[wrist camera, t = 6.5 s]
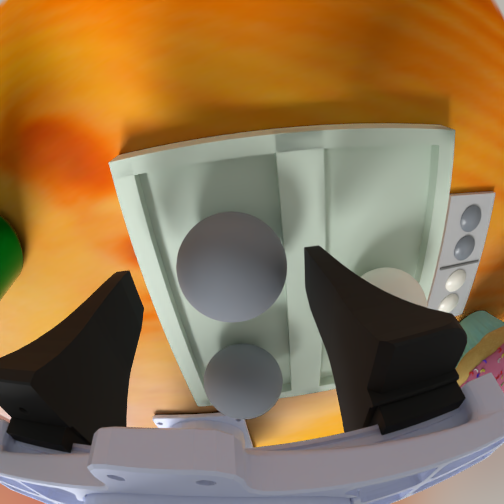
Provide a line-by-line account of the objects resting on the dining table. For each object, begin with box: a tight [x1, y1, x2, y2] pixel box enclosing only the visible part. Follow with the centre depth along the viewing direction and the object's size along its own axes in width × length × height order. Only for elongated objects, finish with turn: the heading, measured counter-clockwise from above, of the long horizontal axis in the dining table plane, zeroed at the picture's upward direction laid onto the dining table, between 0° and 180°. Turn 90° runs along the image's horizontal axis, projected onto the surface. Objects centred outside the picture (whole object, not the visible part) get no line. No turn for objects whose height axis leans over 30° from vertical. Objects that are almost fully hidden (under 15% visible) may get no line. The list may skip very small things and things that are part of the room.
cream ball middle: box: [361, 267, 427, 307], centre depth 15 cm, size 5×5×5 cm
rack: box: [109, 123, 455, 406], centre depth 17 cm, size 18×16×1 cm
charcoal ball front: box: [176, 212, 287, 323], centre depth 13 cm, size 5×5×5 cm
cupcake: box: [455, 311, 504, 393], centre depth 17 cm, size 9×8×12 cm
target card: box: [427, 191, 495, 316], centre depth 18 cm, size 10×4×1 cm, turn 7°
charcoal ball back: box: [204, 343, 283, 419], centre depth 17 cm, size 5×5×5 cm
